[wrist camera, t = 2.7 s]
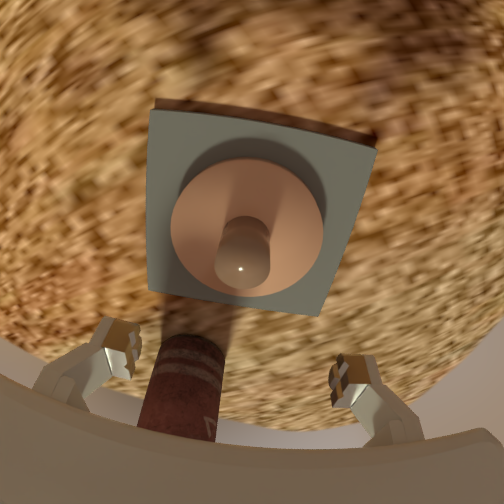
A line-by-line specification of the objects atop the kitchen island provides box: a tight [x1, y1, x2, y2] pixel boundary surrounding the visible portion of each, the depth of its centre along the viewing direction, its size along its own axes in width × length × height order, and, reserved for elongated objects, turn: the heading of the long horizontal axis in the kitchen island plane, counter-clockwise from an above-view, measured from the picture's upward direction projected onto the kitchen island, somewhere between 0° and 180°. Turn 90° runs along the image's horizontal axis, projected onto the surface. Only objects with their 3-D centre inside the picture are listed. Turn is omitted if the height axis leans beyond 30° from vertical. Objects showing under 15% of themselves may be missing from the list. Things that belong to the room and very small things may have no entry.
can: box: [137, 335, 225, 442], centre depth 21 cm, size 6×6×14 cm
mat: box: [146, 109, 378, 317], centre depth 19 cm, size 13×13×1 cm
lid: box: [170, 157, 323, 297], centre depth 17 cm, size 9×9×4 cm
